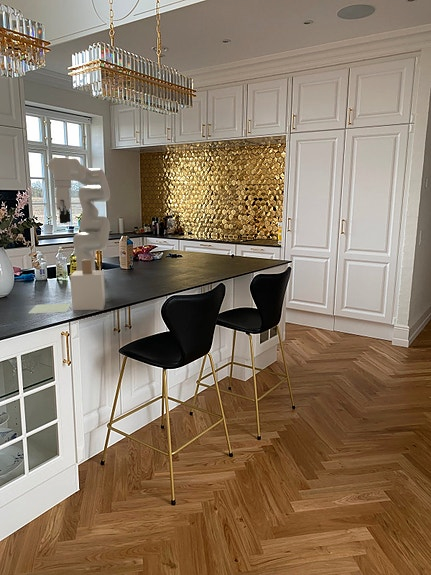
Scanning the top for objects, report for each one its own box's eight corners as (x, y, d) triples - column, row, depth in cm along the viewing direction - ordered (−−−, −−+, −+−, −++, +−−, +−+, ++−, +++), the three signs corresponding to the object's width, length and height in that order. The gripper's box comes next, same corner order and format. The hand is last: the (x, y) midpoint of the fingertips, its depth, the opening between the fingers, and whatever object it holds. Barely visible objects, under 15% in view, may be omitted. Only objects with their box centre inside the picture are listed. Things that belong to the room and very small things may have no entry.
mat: (36, 305, 206) (36, 304, 206) (71, 304, 209) (71, 303, 209) (27, 314, 191) (27, 313, 191) (66, 312, 194) (66, 311, 193)
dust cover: (76, 304, 209) (73, 258, 205) (105, 303, 211) (102, 257, 207) (72, 311, 196) (69, 262, 192) (103, 309, 199) (100, 261, 194)
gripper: (57, 185, 209) (60, 221, 213) (50, 184, 193) (53, 223, 196) (74, 185, 211) (76, 221, 214) (68, 184, 194) (71, 223, 197)
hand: (65, 222), depth 205 cm, fingers open, 9 cm apart
